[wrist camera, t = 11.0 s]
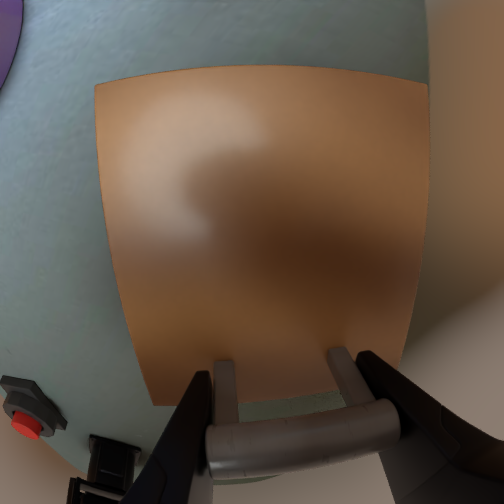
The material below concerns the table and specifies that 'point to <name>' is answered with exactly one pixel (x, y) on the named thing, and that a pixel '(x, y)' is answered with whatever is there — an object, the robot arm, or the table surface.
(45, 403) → the control block
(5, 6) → the tape roll
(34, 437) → the button
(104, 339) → the table surface
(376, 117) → the box lid
